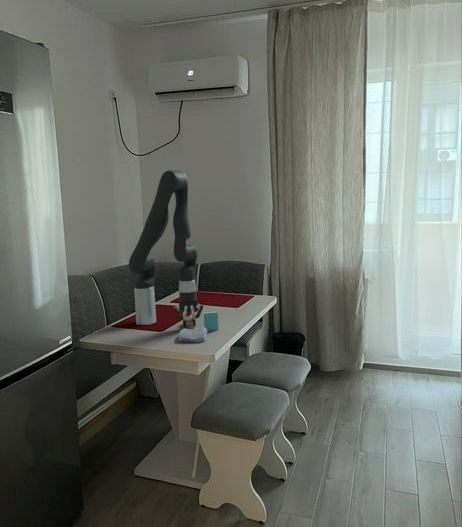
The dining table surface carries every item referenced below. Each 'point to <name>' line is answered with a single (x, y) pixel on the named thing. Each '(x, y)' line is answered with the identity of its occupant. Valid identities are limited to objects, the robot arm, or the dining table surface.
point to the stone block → (193, 335)
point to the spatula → (189, 323)
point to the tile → (211, 321)
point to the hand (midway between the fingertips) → (189, 327)
